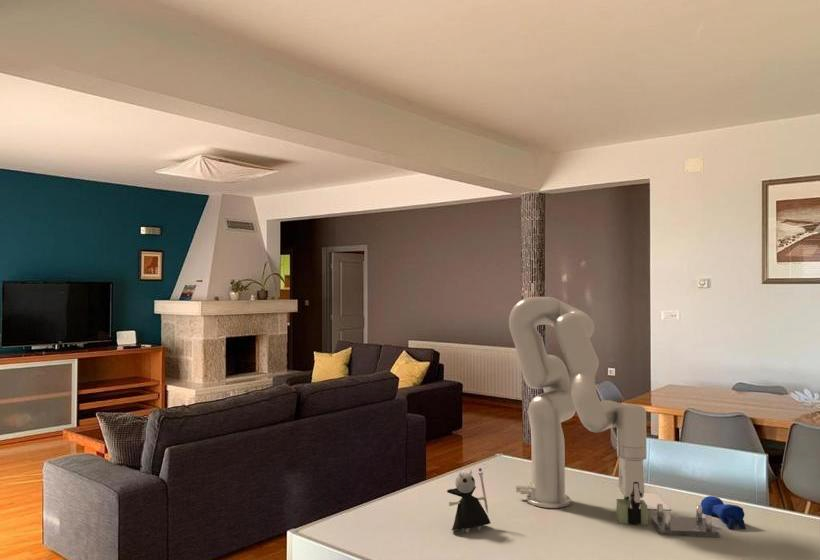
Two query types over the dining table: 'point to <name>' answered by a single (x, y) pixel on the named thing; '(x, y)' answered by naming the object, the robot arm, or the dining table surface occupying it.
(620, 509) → the block
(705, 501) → the toy
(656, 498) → the smartphone
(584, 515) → the dining table surface
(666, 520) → the chassis
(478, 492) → the dining table surface
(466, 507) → the toy
